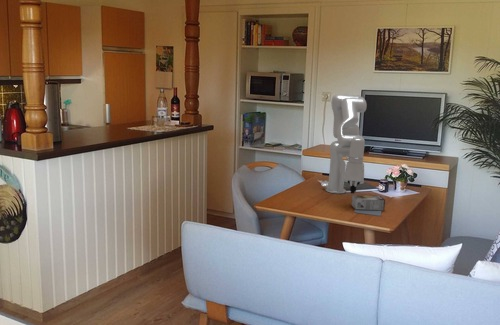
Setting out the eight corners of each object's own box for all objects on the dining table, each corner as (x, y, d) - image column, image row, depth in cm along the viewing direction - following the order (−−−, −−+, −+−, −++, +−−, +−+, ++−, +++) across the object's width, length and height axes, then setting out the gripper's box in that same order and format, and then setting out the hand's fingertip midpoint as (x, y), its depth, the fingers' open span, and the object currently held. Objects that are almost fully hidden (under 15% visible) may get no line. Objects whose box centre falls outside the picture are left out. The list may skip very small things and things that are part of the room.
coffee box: (352, 194, 291) (380, 195, 293) (351, 205, 292) (379, 206, 294) (357, 198, 282) (385, 199, 284) (356, 209, 283) (384, 210, 285)
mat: (353, 212, 280) (354, 212, 280) (356, 206, 293) (356, 205, 293) (380, 216, 276) (380, 215, 276) (382, 209, 289) (382, 208, 289)
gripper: (341, 159, 280) (338, 192, 284) (369, 163, 276) (365, 196, 279) (343, 157, 287) (340, 189, 291) (370, 160, 283) (367, 193, 286)
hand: (352, 192), depth 285 cm, fingers closed
